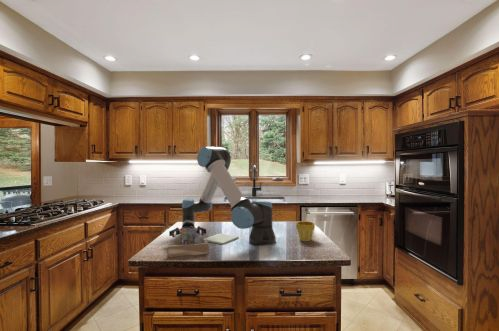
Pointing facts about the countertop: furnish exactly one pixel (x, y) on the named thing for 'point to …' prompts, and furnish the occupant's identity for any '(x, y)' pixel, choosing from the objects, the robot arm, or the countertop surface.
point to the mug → (188, 235)
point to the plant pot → (305, 230)
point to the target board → (221, 239)
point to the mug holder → (188, 249)
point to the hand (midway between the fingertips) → (187, 236)
